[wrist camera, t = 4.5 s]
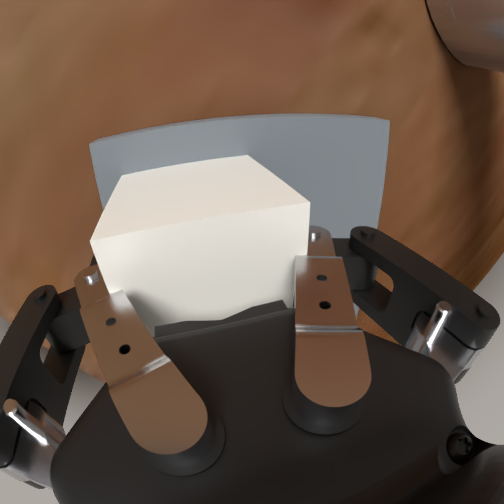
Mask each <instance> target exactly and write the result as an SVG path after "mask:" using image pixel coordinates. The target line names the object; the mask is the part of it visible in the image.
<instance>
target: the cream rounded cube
mask: <svg viewBox="0 0 504 504" xmlns="http://www.w3.org/2000/svg"><path fill="white" fill-rule="evenodd" d="M309 218H310V202H309V201H308V200H307V199H306V198H304V197H303V196H302V195H300V194H299V193H298V192H297V191H295V190H294V189H293V188H291V187H290V186H289V185H288V184H286V183H285V182H284V181H282V180H281V179H280V178H278V177H277V176H276V175H274V174H273V173H272V172H270V171H269V170H268V169H266V168H265V167H264V166H262V165H261V164H259V163H258V162H257V161H255V160H254V159H253V158H251V157H250V156H248V155H243V156H234V157H226V158H218V159H211V160H204V161H197V162H190V163H184V164H178V165H172V166H166V167H161V168H156V169H150V170H145V171H140V172H135V173H131V174H126V175H122V176H121V178H120V180H119V181H118V183H117V185H116V187H115V189H114V191H113V193H112V195H111V197H110V199H109V201H108V203H107V205H106V207H105V209H104V211H103V213H102V215H101V217H100V220H99V222H98V224H97V226H96V228H95V231H94V233H93V235H92V238H91V240H90V243H91V246H92V249H93V252H94V255H95V258H96V260H97V263H98V266H99V269H100V271H101V274H102V276H103V279H104V282H105V284H106V287H107V289H108V291H109V293H114V292H117V291H119V290H121V289H122V290H123V291H124V293H125V295H126V296H127V298H128V300H129V301H130V303H131V304H132V306H133V308H134V309H135V311H136V313H137V314H138V316H139V317H140V319H141V320H142V322H143V324H144V325H145V327H146V328H147V330H148V331H149V333H150V334H151V336H152V337H155V330H154V327H155V326H161V325H166V324H172V323H177V322H182V321H208V320H222V319H225V318H227V317H230V316H232V315H234V314H237V313H239V312H241V311H244V310H246V309H248V308H250V307H253V306H257V305H262V304H266V303H270V302H274V301H278V300H283V301H284V303H285V305H286V307H287V308H292V300H293V284H294V259H295V255H307V249H308V234H309Z"/></svg>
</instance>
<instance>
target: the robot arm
mask: <svg viewBox="0 0 504 504" xmlns="http://www.w3.org/2000/svg"><path fill="white" fill-rule="evenodd" d="M427 5H428V8H429V11H430V14H431V17H432V20H433V22H434V24H435V27H436V29H437V31H438V33H439V35H440V37H441V38H442V40H443V42H444V43H445V45H446V46H447V48H448V50H449V51H450V52H451V53H452V54H453V56H454V57H455V58H456V59H457V60H459V61H460V62H461V63H463V64H465V65H466V66H472V67H478V68H484V69H489V70H494V71H498V72H503V73H504V0H427ZM378 268H380V269H381V270H382V271H384V272H385V273H387V274H388V275H389V276H390V277H391V278H392V280H393V283H394V288H393V291H392V292H390V291H389V290H388V289H387V288H385V287H384V286H383V285H381V284H380V283H379V282H377V281H376V280H375V277H376V274H377V270H378ZM74 284H75V287H73V288H71V289H69V290H67V291H65V292H62V293H60V294H58V293H57V291H56V289H55V287H54V286H52V285H44V286H41V287H39V288H37V289H35V290H34V291H33V292H32V293H31V294H30V295H29V296H28V297H27V299H26V301H25V302H24V304H23V305H22V307H21V309H20V310H19V312H18V314H17V315H16V317H15V319H14V320H13V322H12V324H11V326H10V327H9V329H8V331H7V333H6V335H5V336H4V338H3V340H2V342H1V344H0V470H1V471H3V472H4V473H6V474H8V475H10V476H11V477H13V478H15V479H17V480H19V481H23V482H25V483H27V484H29V485H31V486H33V487H35V488H38V489H43V488H49V489H51V490H53V492H54V494H55V497H56V499H57V500H58V502H59V504H504V445H495V444H491V443H488V442H485V441H482V440H480V439H478V438H477V437H475V436H474V435H473V434H472V433H471V432H470V431H469V429H468V428H467V426H466V424H465V422H464V420H463V417H462V414H461V411H460V408H459V404H458V399H457V393H456V388H455V385H454V384H456V383H458V382H459V381H460V380H461V379H462V378H463V376H464V375H465V374H466V372H467V371H468V370H469V369H470V367H471V366H472V365H473V363H474V362H475V360H476V359H477V358H478V356H479V355H480V354H481V352H482V351H483V349H484V348H485V346H486V345H487V343H488V342H489V340H490V339H491V337H492V336H493V334H494V332H495V331H496V329H497V328H498V326H499V324H500V317H499V314H498V313H497V311H496V309H495V308H494V307H493V306H492V305H491V304H489V303H488V302H486V301H485V300H484V299H483V298H481V297H480V296H478V295H477V294H476V293H475V292H473V291H472V290H470V289H469V288H468V287H466V286H465V285H463V284H462V283H461V282H459V281H458V280H456V279H455V278H453V277H452V276H450V275H449V274H448V273H446V272H445V271H443V270H442V269H440V268H439V267H437V266H436V265H434V264H433V263H431V262H429V261H428V260H426V259H425V258H423V257H422V256H420V255H419V254H417V253H415V252H414V251H412V250H411V249H409V248H407V247H406V246H404V245H403V244H401V243H399V242H398V241H396V240H394V239H393V238H391V237H389V236H388V235H386V234H384V233H383V232H381V231H379V230H377V229H375V228H372V227H368V226H357V227H354V228H352V229H351V232H350V238H332V237H331V233H330V232H329V231H328V230H327V229H325V228H323V227H320V226H314V225H309V234H308V249H307V255H295V259H294V284H293V300H292V308H287V307H286V305H285V303H284V301H283V300H278V301H274V302H270V303H266V304H262V305H257V306H253V307H250V308H248V309H246V310H244V311H241V312H239V313H237V314H234V315H232V316H230V317H227V318H225V319H222V320H208V321H182V322H177V323H172V324H166V325H161V326H155V327H154V330H155V337H152V336H151V334H150V333H149V331H148V330H147V328H146V327H145V325H144V324H143V322H142V320H141V319H140V317H139V316H138V314H137V313H136V311H135V309H134V308H133V306H132V304H131V303H130V301H129V300H128V298H127V296H126V295H125V293H124V291H123V290H122V289H121V290H119V291H117V292H114V293H109V291H108V289H107V287H106V284H105V282H104V279H103V276H102V274H101V271H100V269H99V266H98V263H97V260H96V258H95V255H93V258H92V261H91V264H90V266H89V267H87V268H85V269H83V270H82V271H81V272H79V273H78V274H77V276H76V277H75V280H74ZM353 303H354V304H356V305H357V306H358V307H359V308H360V309H361V310H362V311H364V312H365V313H366V314H367V315H368V316H369V317H370V318H372V319H373V320H374V321H375V322H376V323H377V324H378V325H380V326H381V327H382V328H383V329H384V330H385V331H386V332H387V333H389V334H390V335H391V336H392V337H393V338H394V339H395V340H396V341H397V342H399V343H400V344H401V345H402V346H400V345H398V344H395V343H393V342H390V341H388V340H385V339H383V338H380V337H378V336H375V335H373V334H370V333H368V332H366V331H363V330H362V329H360V328H359V327H358V324H357V320H356V315H355V310H354V305H353ZM45 337H46V339H47V340H48V342H49V343H50V345H51V347H50V349H49V351H48V354H47V356H46V359H45V361H44V364H43V363H42V361H41V359H40V348H41V346H42V343H43V341H44V339H45ZM88 343H91V345H92V348H93V350H94V353H95V356H96V358H97V361H98V363H99V365H100V368H101V370H102V373H103V375H104V377H105V379H106V383H105V384H104V386H103V387H102V388H101V390H100V391H99V392H98V394H97V395H96V396H95V397H94V399H93V400H92V401H91V403H90V404H89V405H88V407H87V408H86V409H85V411H84V412H83V413H82V415H81V416H80V417H79V419H78V420H77V421H76V423H75V424H74V426H73V427H72V428H71V430H70V432H68V434H67V435H66V436H65V432H64V429H63V422H64V418H65V414H66V410H67V406H68V403H69V399H70V395H71V392H72V388H73V385H74V382H75V378H76V375H77V372H78V369H79V366H80V362H81V359H82V356H83V354H84V351H85V345H86V344H88Z"/></svg>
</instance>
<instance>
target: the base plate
mask: <svg viewBox="0 0 504 504" xmlns="http://www.w3.org/2000/svg"><path fill="white" fill-rule="evenodd" d="M389 127H390V121H389V120H385V119H380V118H376V117H369V116H356V115H339V114H261V115H244V116H231V117H220V118H211V119H202V120H194V121H187V122H180V123H173V124H167V125H161V126H156V127H150V128H145V129H140V130H135V131H130V132H126V133H121V134H117V135H113V136H109V137H105V138H101V139H97V140H95V141H94V142H92V143H91V144H89V146H90V152H91V157H92V162H93V167H94V172H95V177H96V181H97V186H98V190H99V194H100V199H101V203H102V207H103V210H104V209H105V207H106V205H107V203H108V201H109V199H110V197H111V195H112V193H113V191H114V189H115V187H116V185H117V183H118V181H119V180H120V178H121V176H122V175H126V174H131V173H135V172H140V171H145V170H150V169H156V168H161V167H166V166H172V165H178V164H184V163H190V162H197V161H204V160H211V159H218V158H226V157H234V156H243V155H248V156H250V157H251V158H253V159H254V160H255V161H257V162H258V163H259V164H261V165H262V166H264V167H265V168H266V169H268V170H269V171H270V172H272V173H273V174H274V175H276V176H277V177H278V178H280V179H281V180H282V181H284V182H285V183H286V184H288V185H289V186H290V187H291V188H293V189H294V190H295V191H297V192H298V193H299V194H300V195H302V196H303V197H304V198H306V199H307V200H308V201H309V202H310V218H309V225H314V226H320V227H323V228H325V229H327V230H328V231H329V232H330V233H331V237H332V238H350V232H351V229H352V228H354V227H357V226H368V227H372V228H375V229H377V226H378V220H379V214H380V208H381V201H382V195H383V187H384V180H385V171H386V162H387V152H388V141H389ZM353 305H354V310H355V315H356V317H357V314H358V310H359V307H358V306H357V305H356V304H354V303H353Z"/></svg>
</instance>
